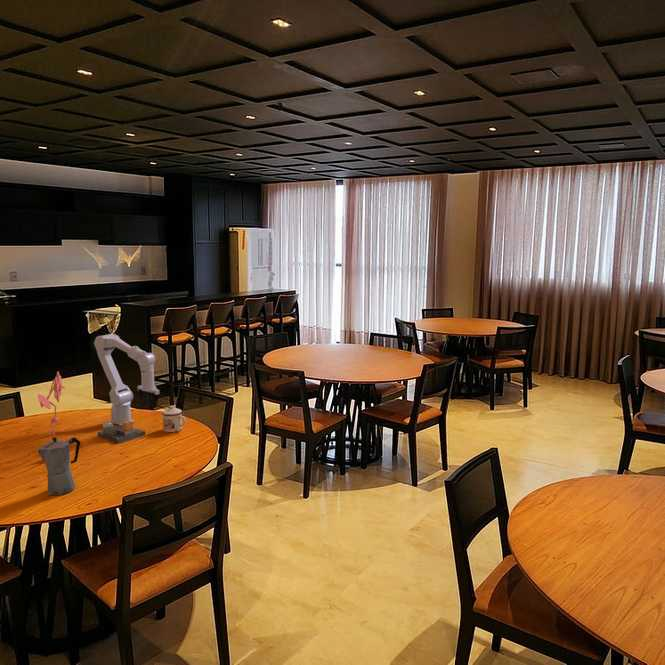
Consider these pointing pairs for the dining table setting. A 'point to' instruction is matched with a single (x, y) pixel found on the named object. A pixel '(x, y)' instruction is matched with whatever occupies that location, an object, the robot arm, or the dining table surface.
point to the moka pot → (59, 465)
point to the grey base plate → (119, 433)
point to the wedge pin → (127, 425)
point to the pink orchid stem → (46, 402)
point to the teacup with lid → (172, 419)
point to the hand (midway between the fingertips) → (149, 406)
